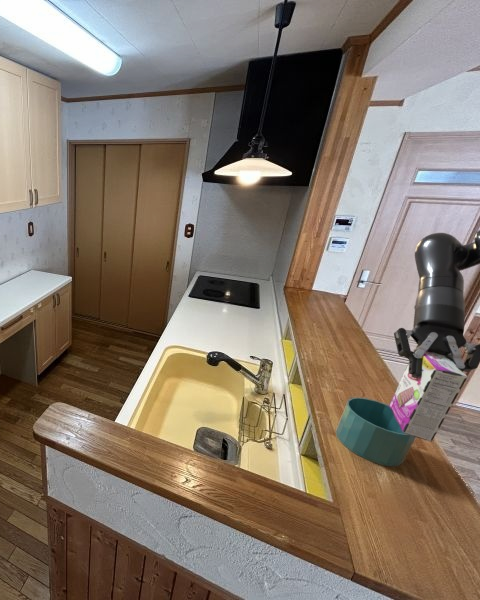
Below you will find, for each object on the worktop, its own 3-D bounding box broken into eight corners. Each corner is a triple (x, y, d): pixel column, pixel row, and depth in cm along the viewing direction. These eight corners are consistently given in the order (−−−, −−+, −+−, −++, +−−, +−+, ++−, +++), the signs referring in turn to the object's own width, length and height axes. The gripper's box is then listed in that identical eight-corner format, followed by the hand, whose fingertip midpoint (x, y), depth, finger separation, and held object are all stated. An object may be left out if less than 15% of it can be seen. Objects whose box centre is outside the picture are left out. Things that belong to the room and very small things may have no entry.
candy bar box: (386, 405, 78) (414, 345, 73) (413, 413, 76) (445, 352, 71) (401, 433, 69) (435, 368, 64) (432, 443, 67) (470, 376, 61)
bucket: (388, 435, 92) (402, 406, 88) (415, 474, 79) (433, 442, 76) (328, 420, 97) (339, 392, 93) (345, 454, 84) (358, 423, 81)
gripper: (404, 296, 73) (397, 364, 67) (497, 311, 66) (498, 389, 61) (389, 310, 79) (382, 374, 74) (473, 326, 72) (471, 398, 67)
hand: (434, 381), depth 67 cm, fingers closed on candy bar box, 5 cm apart
